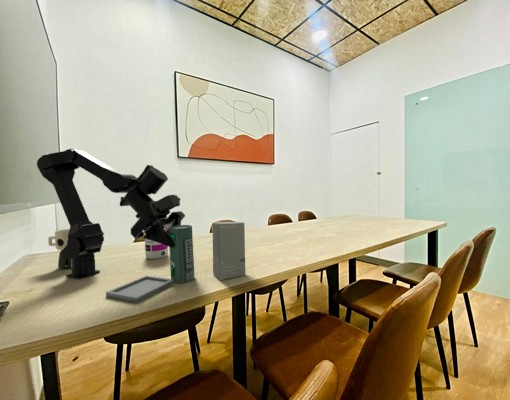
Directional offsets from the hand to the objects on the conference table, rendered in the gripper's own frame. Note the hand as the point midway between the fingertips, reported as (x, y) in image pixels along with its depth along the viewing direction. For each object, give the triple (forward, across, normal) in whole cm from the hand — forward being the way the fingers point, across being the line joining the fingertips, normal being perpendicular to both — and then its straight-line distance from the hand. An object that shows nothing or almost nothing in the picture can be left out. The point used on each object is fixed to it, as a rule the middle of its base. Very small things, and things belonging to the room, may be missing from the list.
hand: (180, 243), depth 65 cm
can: (+7, 0, +7) cm, 10 cm away
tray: (+3, -8, +12) cm, 15 cm away
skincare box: (+16, +6, -1) cm, 17 cm away
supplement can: (-9, +22, +24) cm, 34 cm away
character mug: (-26, +6, +40) cm, 48 cm away
